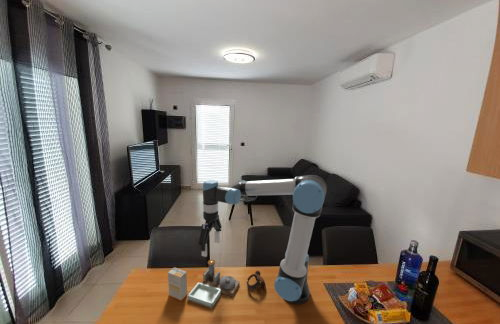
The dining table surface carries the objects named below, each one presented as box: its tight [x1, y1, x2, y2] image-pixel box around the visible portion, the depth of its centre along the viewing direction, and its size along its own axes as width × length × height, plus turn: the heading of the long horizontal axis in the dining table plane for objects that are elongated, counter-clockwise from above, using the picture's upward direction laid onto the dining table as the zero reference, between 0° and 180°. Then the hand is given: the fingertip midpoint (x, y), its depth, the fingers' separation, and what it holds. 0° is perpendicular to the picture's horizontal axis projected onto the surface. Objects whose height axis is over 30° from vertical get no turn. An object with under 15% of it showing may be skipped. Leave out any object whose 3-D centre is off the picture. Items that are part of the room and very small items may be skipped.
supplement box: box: [167, 267, 188, 302], centre depth 106 cm, size 8×5×13 cm, turn 65°
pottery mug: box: [246, 270, 267, 291], centre depth 114 cm, size 12×10×8 cm
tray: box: [187, 282, 222, 309], centre depth 106 cm, size 14×10×2 cm
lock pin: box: [207, 259, 216, 282], centre depth 115 cm, size 4×4×11 cm
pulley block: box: [202, 268, 240, 297], centre depth 114 cm, size 18×9×6 cm, turn 71°
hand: (211, 248), depth 112 cm, fingers open, 13 cm apart
